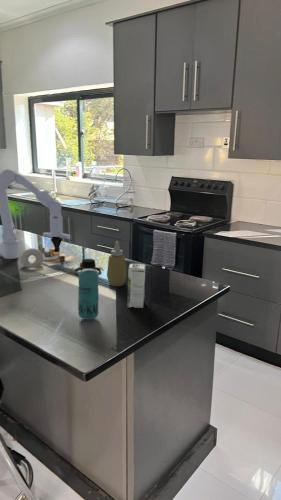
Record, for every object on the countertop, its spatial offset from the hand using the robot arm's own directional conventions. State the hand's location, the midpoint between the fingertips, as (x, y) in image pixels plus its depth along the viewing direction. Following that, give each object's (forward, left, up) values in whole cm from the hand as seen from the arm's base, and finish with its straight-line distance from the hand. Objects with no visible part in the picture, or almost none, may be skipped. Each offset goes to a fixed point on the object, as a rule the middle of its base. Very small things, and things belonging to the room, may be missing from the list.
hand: (57, 251), depth 189 cm
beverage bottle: (+69, -32, -4) cm, 76 cm away
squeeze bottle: (+49, -3, -4) cm, 49 cm away
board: (+3, -4, -4) cm, 6 cm away
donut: (+9, -19, -4) cm, 21 cm away
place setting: (+24, -1, -5) cm, 25 cm away
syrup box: (+70, -12, -4) cm, 71 cm away
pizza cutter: (+1, -4, -2) cm, 5 cm away
